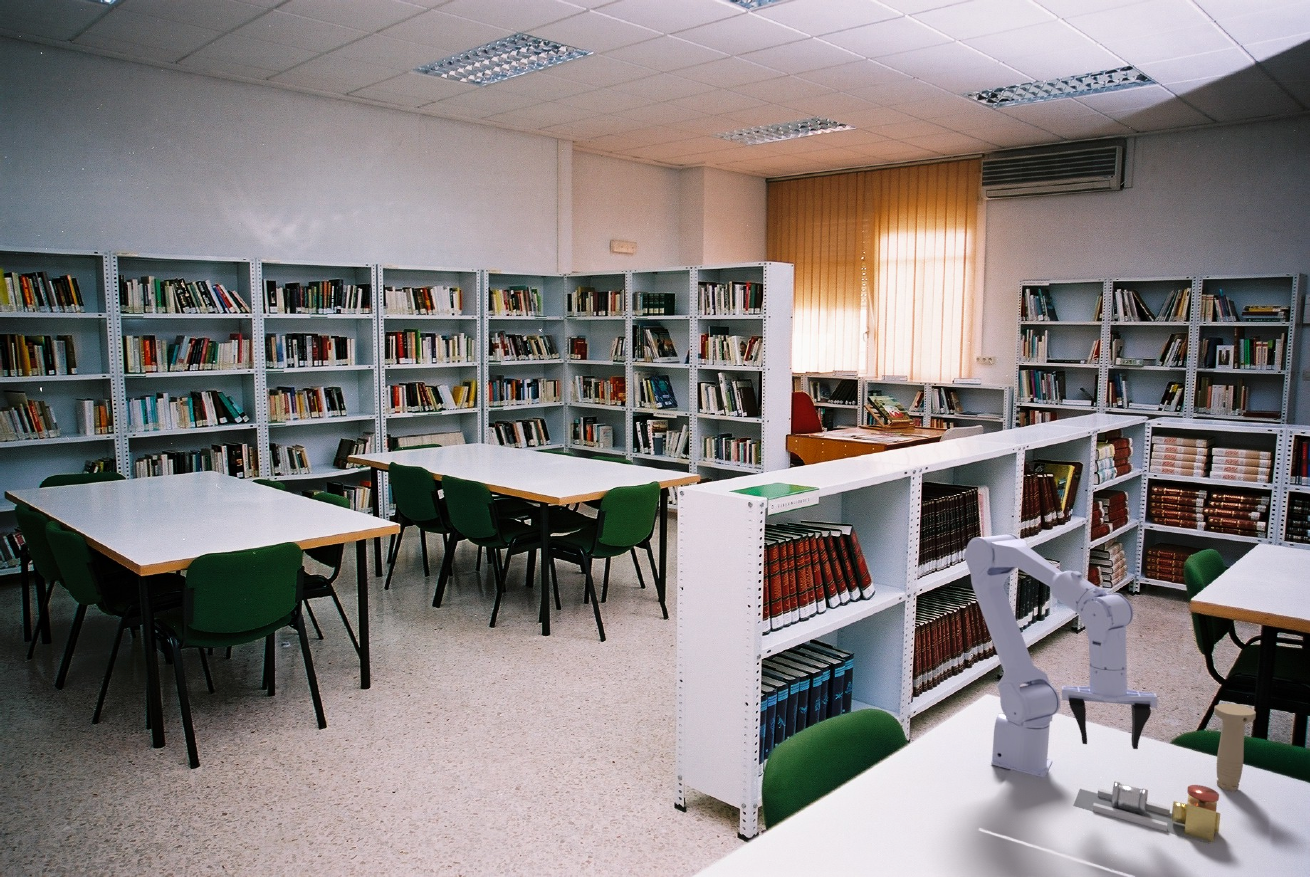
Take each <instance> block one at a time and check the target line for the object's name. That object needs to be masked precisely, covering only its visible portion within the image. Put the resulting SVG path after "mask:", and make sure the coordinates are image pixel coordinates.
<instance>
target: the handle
mask: <svg viewBox="0 0 1310 877" xmlns="http://www.w3.org/2000/svg"><path fill="white" fill-rule="evenodd" d="M1213 711H1214V715H1215V716H1217V717H1218V718H1219V719H1221V720H1222V726H1221V730H1220V731H1221V733H1220V738H1219V744H1218V745H1219V746H1218V750H1217V755H1216V756H1217V757H1216V778H1217V779H1216V786H1217V787H1219V788H1220V789H1222V790H1224V791H1230V792H1236V791H1237V790H1239V786H1240V784H1239V783H1240V780H1241V778H1242V772H1243V767H1244V749H1245V748H1244V747H1245V746H1244V743H1245V727H1246V724H1249V723H1251V722H1253V721H1254V720H1256V714H1257V712H1256V711H1255V709H1252V708H1250V707H1247V706H1245V705H1242V704H1235V703H1234V704H1233V703H1222V704H1221V703H1220V704H1217V705H1214V710H1213Z"/></svg>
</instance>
